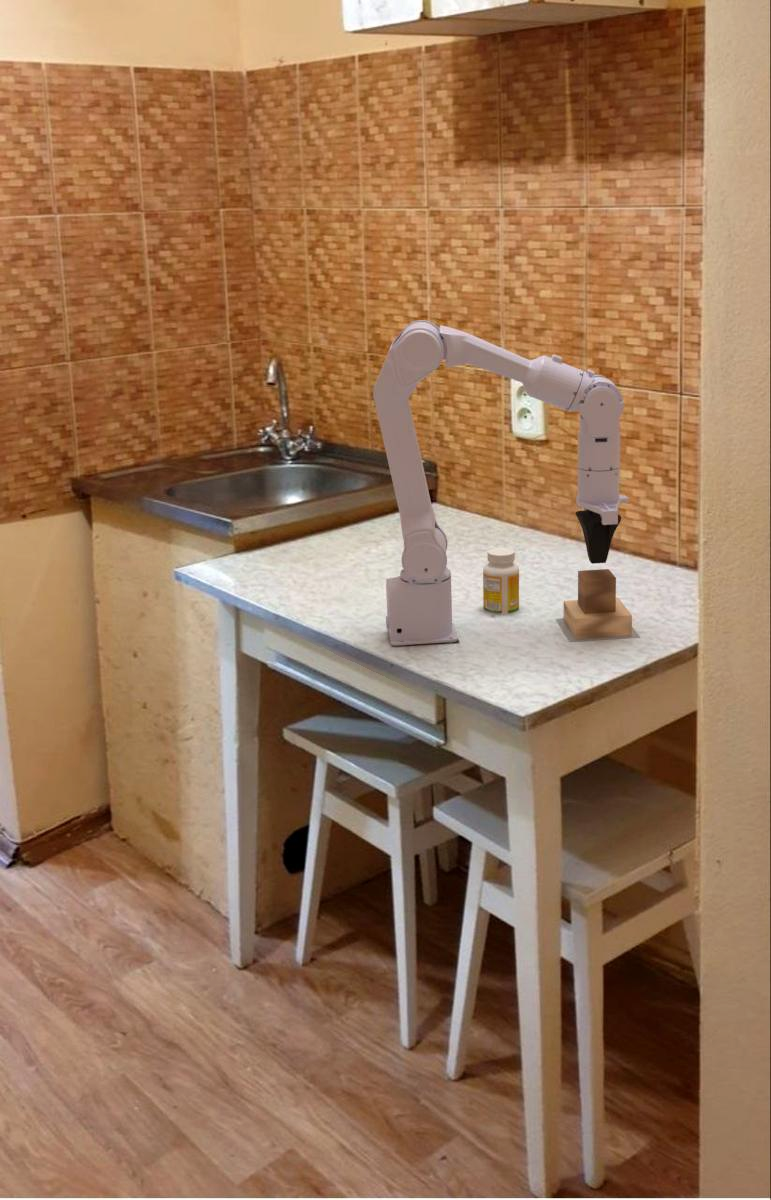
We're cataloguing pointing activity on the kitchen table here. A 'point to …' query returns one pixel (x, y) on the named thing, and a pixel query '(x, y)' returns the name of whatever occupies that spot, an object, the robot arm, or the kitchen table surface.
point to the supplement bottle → (501, 582)
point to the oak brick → (597, 621)
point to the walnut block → (596, 591)
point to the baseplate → (572, 639)
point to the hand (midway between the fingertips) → (597, 562)
